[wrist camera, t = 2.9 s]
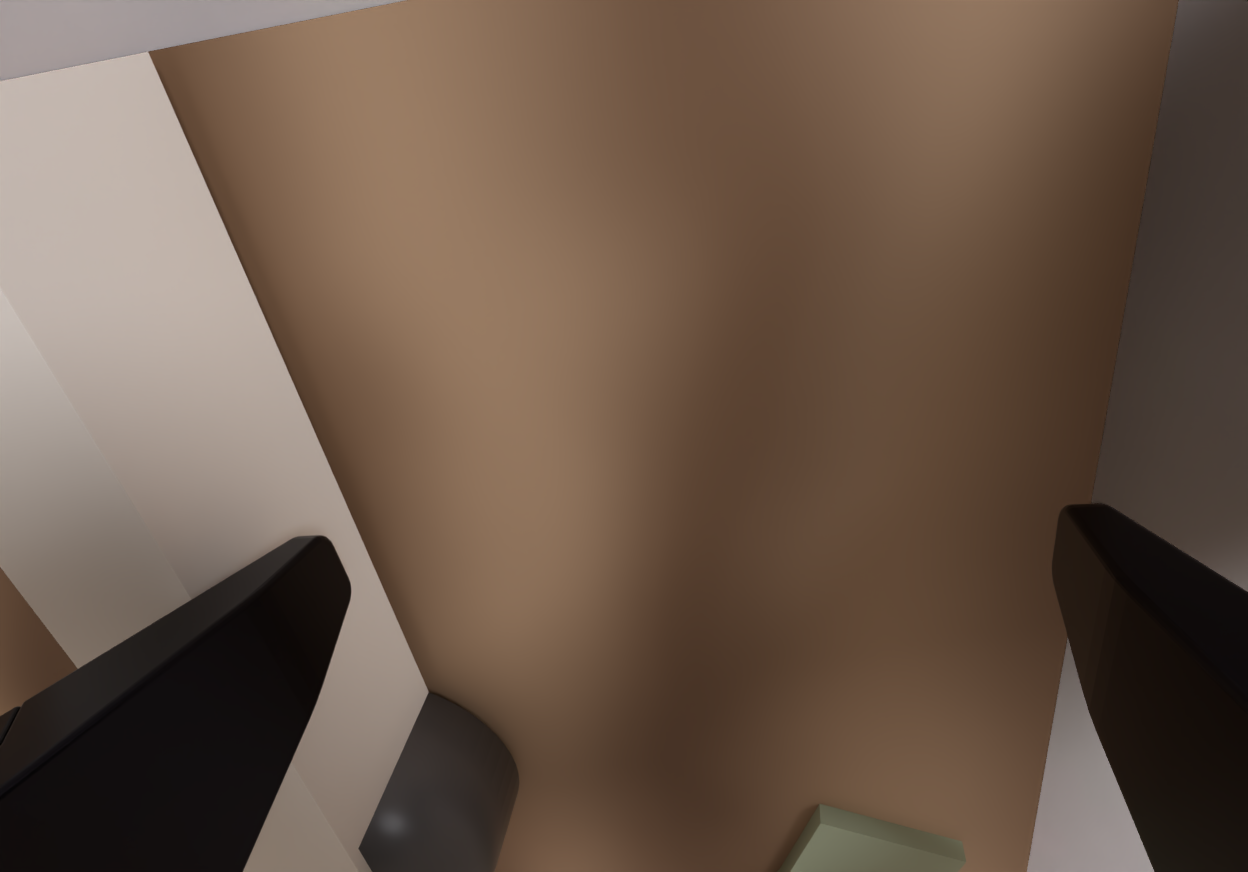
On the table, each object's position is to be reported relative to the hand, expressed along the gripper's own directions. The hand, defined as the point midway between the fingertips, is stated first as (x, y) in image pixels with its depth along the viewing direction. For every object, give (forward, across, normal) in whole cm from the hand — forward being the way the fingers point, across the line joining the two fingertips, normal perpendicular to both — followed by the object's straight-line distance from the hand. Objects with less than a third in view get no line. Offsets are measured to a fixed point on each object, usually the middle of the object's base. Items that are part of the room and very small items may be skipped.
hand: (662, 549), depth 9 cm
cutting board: (+3, +6, +7) cm, 10 cm away
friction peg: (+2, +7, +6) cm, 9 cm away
